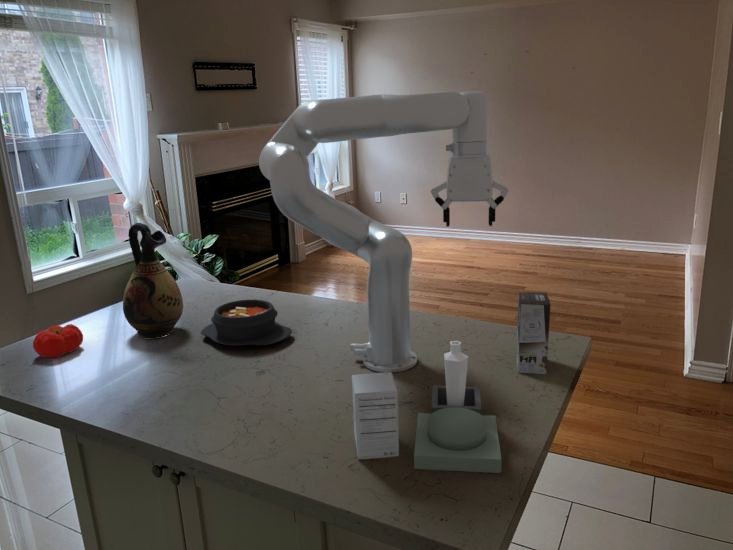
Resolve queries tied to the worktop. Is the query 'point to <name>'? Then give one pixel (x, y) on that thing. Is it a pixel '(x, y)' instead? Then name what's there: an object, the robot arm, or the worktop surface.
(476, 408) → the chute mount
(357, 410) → the supplement box
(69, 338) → the tomato
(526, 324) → the coffee box
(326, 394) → the worktop surface
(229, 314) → the casserole
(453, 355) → the perfume bottle
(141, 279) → the ceramic jug
